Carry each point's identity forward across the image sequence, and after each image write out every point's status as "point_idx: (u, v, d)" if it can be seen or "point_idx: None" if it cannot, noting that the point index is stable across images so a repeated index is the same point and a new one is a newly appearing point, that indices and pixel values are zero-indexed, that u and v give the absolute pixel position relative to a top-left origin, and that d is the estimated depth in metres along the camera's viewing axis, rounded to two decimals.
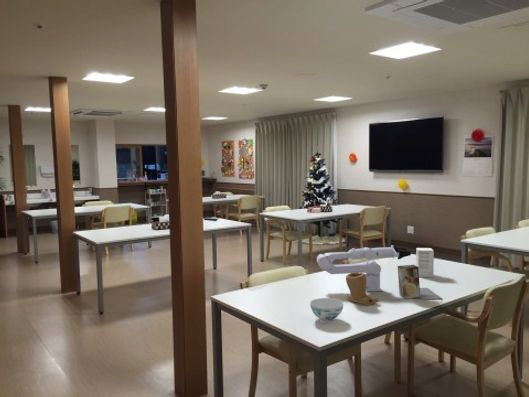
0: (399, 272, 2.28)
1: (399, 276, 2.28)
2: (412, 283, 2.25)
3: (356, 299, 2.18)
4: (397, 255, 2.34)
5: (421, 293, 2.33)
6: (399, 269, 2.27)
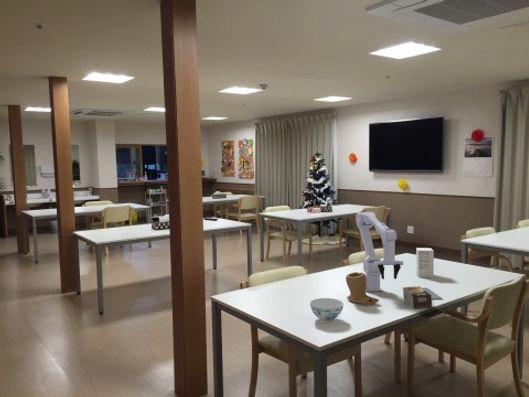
0: (411, 299, 2.12)
1: (409, 297, 2.14)
2: None
3: (356, 299, 2.18)
4: (375, 263, 2.27)
5: None
6: (412, 301, 2.10)
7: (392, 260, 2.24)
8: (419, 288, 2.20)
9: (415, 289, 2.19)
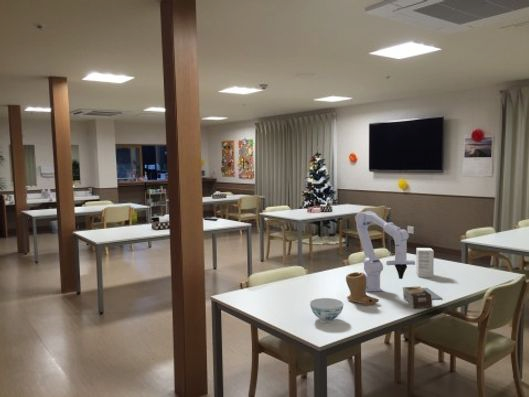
0: (411, 299, 2.12)
1: (409, 297, 2.14)
2: None
3: (356, 299, 2.18)
4: (386, 263, 2.27)
5: None
6: (412, 301, 2.10)
7: (404, 260, 2.24)
8: (419, 288, 2.20)
9: (415, 289, 2.19)
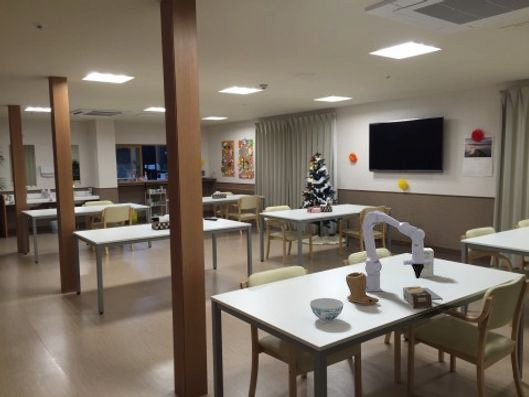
0: (411, 299, 2.12)
1: (409, 297, 2.14)
2: None
3: (356, 299, 2.18)
4: (403, 263, 2.27)
5: None
6: (412, 301, 2.10)
7: (421, 259, 2.24)
8: (419, 288, 2.20)
9: (415, 289, 2.19)
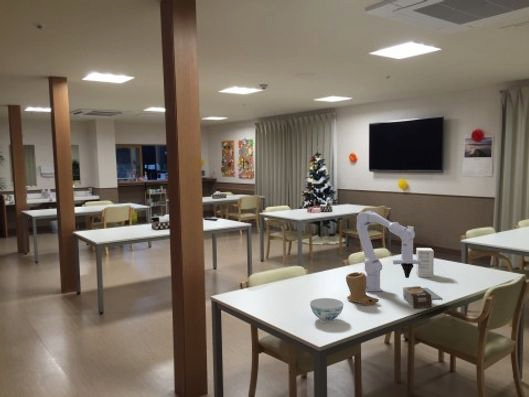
0: (411, 299, 2.12)
1: (409, 297, 2.14)
2: None
3: (356, 299, 2.18)
4: (393, 262, 2.29)
5: None
6: (412, 301, 2.10)
7: (410, 259, 2.26)
8: (419, 288, 2.20)
9: (415, 289, 2.19)
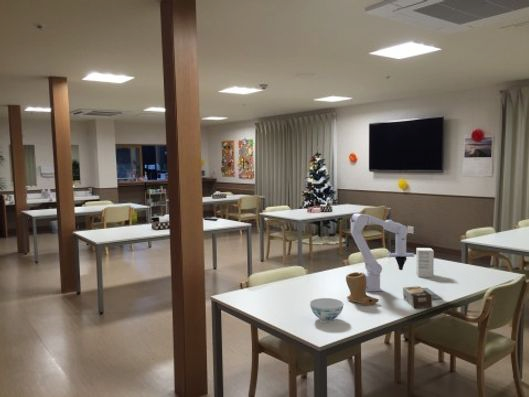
0: (411, 299, 2.12)
1: (409, 297, 2.14)
2: None
3: (356, 299, 2.18)
4: None
5: None
6: (412, 301, 2.10)
7: (404, 252, 2.41)
8: (419, 288, 2.20)
9: (415, 289, 2.19)
